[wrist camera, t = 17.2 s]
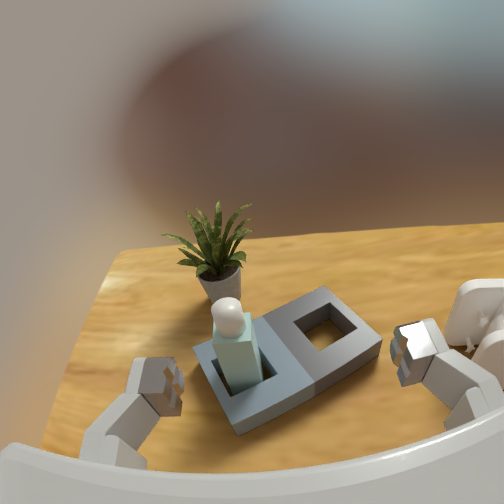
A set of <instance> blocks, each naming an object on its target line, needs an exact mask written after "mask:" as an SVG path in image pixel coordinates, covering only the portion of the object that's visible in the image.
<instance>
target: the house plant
mask: <svg viewBox="0 0 504 504" xmlns="http://www.w3.org/2000/svg"><path fill="white" fill-rule="evenodd" d="M251 204H252V203H251ZM251 204H248V205H245V206H243V207H241V208H239V209H238V210H237V211H236V212H235V213H234V214H233V215H232V216H231V218H230V219H229V221H228V223H227V225H226V228H225V232H224V234H223V235H221V228H222V227H221V224H222V212H221V208H220V201H219V200H218V202H217V204H216V209H215V222H214V225H213V227H211V225H210V222H209V220H208V219H207V217H206V216H205V215H204V214H203V213H202V212H201V211H200V210H199V209H197V208H196V207H195V208H196V209H197V211H198V212H199V214H200V215H201V216H202V221H201V220H200V219H199V218H198V217H197V218H198V219H199V220H200V222H199V221H198V220H197V219H195V218H194V217H193V216H192V215H191V214H190V213H188V212H186V214H187V218H188V219H189V222H190V224H191V226H192V228H193V230H194V233H195V235H196V238H197V242H198V245H199V247H200V249H201V251H202V252H203V253H202V252H200V251H199V250H198V249H197V248H196V247H194V246H193V245H192V244H191V243H189V242H188V241H186V240H185V239H183V238H181V237H178V236H174V235H170V234H162V235H163V236H167V237H171V238H173V239H176V240H177V241H179V242H181V243H183V244H184V245H186V246H187V247H183V248H187V249H191V250H192V251H194V252H195V253H197V254H198V255H199V256H201V257H202V258H203V259H205V260H204V261H203V260H201V259H199V258H198V257H196V256H194V255H192V254H191V253H189V252H187V251H185V250H183V249H180V248H178V249H179V250H180V251H182V252H183V253H184V254H185V255H186V256H187V257H188V258H190V259H192V260H190V259H183V260H181V261H179V262H178V263H177V264H180V265H187V266H194V267H197V271H196V277H198V279H199V281H200V283H201V284H202V286H203V288H204V290H205V291H206V293H207V295H208V297H209V298H210V300H211V302H212V304H214V303H215V302H216V301H217V300H219V299H222V298H226V297H232V298H235V299H237V300H238V301H239V300H240V298H241V274H240V267H242V265H241V263H240V261H239V260H243V261H245V262H246V254H245V252H243V251H239V252H236V253H234V251H235V249H236V247H237V246H238V244H239V243H240V241H241V240H242V239H243V237H244V236H245V235H246V234H247V233H249V232H250V231H253V230H251V229H247V228H241V227H242V226H243V224H244V223H245V222H246V221H248V220H250V219H251V218H249V219H246V220H244V221H242V222H241V223H240V224H239V225H238V226H237V228H236V229H235V231H234V233H233V235H232V236H231V237H230V238H229V239H228V240H227V242H226V238H227V235H228V233H229V230H230V228H231V226H232V224H233V222H234V220H235V219H236V218H237V217H238V215H239V214H240V213H241V211H242V210H243V209H244V208H246V207H248V206H249V205H251ZM203 221H204V223H203ZM202 224H203V226H204V228H205V230H206V232H207V234H208V238H209V240H208V238H207V236H206V233H205V231H204V229H203V227H202ZM204 224H205V225H204ZM240 228H241V229H240ZM242 231H246V232H244V233H243V234H242V235H240V234H237V233H239V232H242ZM221 236H223V238H222V242H221ZM238 237H239V238H238ZM236 238H238V239H237V240H236V242H235V244H234V246H233V248H232V250H231V252H230V255H228V254H229V251H230V248H231V245H232V243H233V241H234V240H235V239H236ZM209 241H210V242H209ZM225 242H226V243H225ZM233 253H234V254H233ZM193 260H194V261H193ZM242 268H243V267H242Z"/></svg>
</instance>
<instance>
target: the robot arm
mask: <svg viewBox="0 0 504 504" xmlns="http://www.w3.org/2000/svg"><path fill="white" fill-rule="evenodd" d="M393 333H394V336H395V337H394V338H393V339H392V340H391V344H390V354H391V358H392V361H393V364H395V365H396V366H397V367H399V368H398V371H397V375H398V378H399V380H400V383H401V386H402V387H405V386H409V385H412V384H416V383H420V382H422V384H423V385H424V386H425V387H426V388H427V389H429V390H430V391H431V392H432V393H433V394H434V395H435V396H436V397H438V398H439V399H440V400H441V401H442V402H443V403H444V404H445V405H447V406H448V407H449V408H450V409H451V410H452V411H451V412H450V414H449V415H448V416H447V417H446V419H445V420H444V425H445V428H446V432H443V433H440V434H438V435H435V436H432V437H429V438H426V439H423V440H420V441H417V442H414V443H411V444H408V445H405V446H401V447H398V448H395V449H391V450H387V451H384V452H380V453H376V454H372V455H368V456H364V457H359V458H355V459H350V460H345V461H340V462H335V463H329V464H323V465H317V466H310V467H303V468H296V469H287V470H277V471H266V472H251V473H220V474H208V473H177V472H163V471H151V470H146V469H147V460H146V458H144V457H143V456H142V455H140V454H139V453H138V452H137V450H138V449H139V447H140V446H141V444H142V443H143V442H144V440H145V439H146V438H147V436H148V435H149V433H150V432H151V431H152V429H153V428H154V426H155V425H156V424H157V422H158V421H159V419H160V417H174V416H181V410H182V400H181V399H180V397H179V396H180V395H181V394H182V393H183V392H184V377H183V374H182V371H181V370H180V369H179V368H178V367H176V361H175V359H174V358H173V357H149V358H148V357H146V358H135V359H134V360H133V362H132V366H131V370H130V373H129V377H128V381H127V385H126V389H125V393H121V394H120V395H119V396H118V397H117V398H116V399H115V400H114V401H113V402H112V404H111V405H110V406H109V407H108V408H107V409H106V410H105V411H104V412H103V413H102V414H101V415H100V416H99V417H98V418H97V419H96V420H95V421H94V422H93V423H92V424H91V425H90V426H89V427H88V428H87V429H86V431H85V434H84V438H83V442H82V446H81V450H80V455H79V459H76V458H72V457H67V456H63V455H59V454H55V453H52V452H48V451H44V450H41V449H37V448H34V447H31V446H28V445H25V444H22V443H18V442H12V443H11V444H9V445H8V446H6V447H5V448H4V449H3V450H1V451H0V504H504V392H503V390H502V388H501V386H500V384H499V382H498V380H497V378H496V376H494V375H493V374H491V373H489V372H488V371H486V370H485V369H483V368H482V367H480V366H479V365H477V364H476V363H474V362H473V361H471V360H470V359H468V358H467V357H465V356H463V355H462V354H460V353H459V352H457V351H456V350H454V349H451V350H450V349H449V347H448V345H447V343H446V341H445V339H444V337H443V335H442V333H441V331H440V330H439V328H438V326H437V324H436V322H435V320H434V319H433V318H428V319H425V320H421V321H415V322H411V323H407V324H403V325H399V326H396V327H395V329H394V332H393Z"/></svg>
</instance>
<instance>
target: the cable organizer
mask: <svg viewBox="0 0 504 504" xmlns="http://www.w3.org/2000/svg"><path fill="white" fill-rule="evenodd" d="M443 333H444V338H445V341H446V343H447V344H449V345H452V346H463V345H467V350H466V351H465V352H468V353H470V352H471V350H473V349H475V347H474V345H477V344H480V345H479V346H478V348H477V350H476V352H475V354H474V355H473V357H472V359H471V361H473V362H474V363H476V364H477V365H479V366H480V367H482V368H483V369H485V370H486V371H488V372H489V373H491V374H493V375H494V376H496V378H497V380H498V382H499V384H500V386H501V388H502V390H504V279H474V280H470V281H468V282H465V283H464V284H463V285H461V286H460V288H459V289H458V292H457V295H456V298H455V301H454V304H453V306H452V309H451V312H450V315H449V317H448V320H447V323H446V325H445V328H444V330H443Z"/></svg>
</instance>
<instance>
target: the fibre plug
mask: <svg viewBox="0 0 504 504" xmlns="http://www.w3.org/2000/svg"><path fill="white" fill-rule="evenodd" d="M211 313H212V316H213V319H214V324H213V336H212V346H213V349H214V351H215V354H216V356H217V359H218V361H219V364H220V366H221V369H222V371H223V373H224V376H225V378H226V381H227V383H228V385H229V388H230V390H231V392H232V395H233V396H234V395H237V394H239V393H241V392H243V391H245V390H247V389H249V388H251V387H253V386H255V385H257V384H259V383H261V382H263V381H264V374H263V366H262V361H261V357H260V352H259V348H258V344H257V339H256V335H255V330H254V326H253V322H252V317H251V313H250V312H247V313H243V312H242V307H241V304H240V302H239V301H238V300H237V299H235V298H232V297H226V298H222V299H219V300H217V301H216V302H215V303H214V304H213V305H212V307H211Z"/></svg>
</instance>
